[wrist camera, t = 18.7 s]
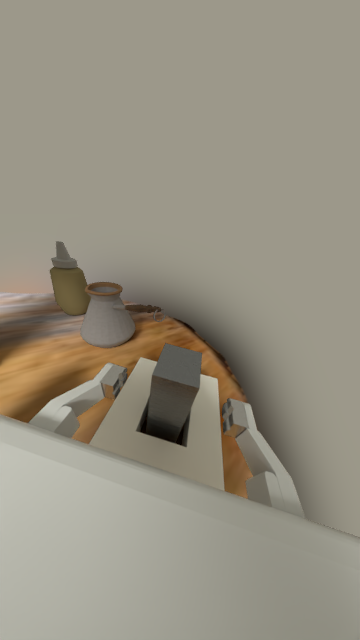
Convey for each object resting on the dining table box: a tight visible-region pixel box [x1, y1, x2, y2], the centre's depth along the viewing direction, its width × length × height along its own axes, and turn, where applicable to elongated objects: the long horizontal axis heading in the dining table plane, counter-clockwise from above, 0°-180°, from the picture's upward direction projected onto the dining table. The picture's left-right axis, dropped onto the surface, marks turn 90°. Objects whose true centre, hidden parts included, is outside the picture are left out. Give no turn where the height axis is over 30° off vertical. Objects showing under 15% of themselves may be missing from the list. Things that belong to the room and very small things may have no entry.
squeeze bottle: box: [50, 242, 91, 315], centre depth 35 cm, size 8×8×18 cm
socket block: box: [89, 357, 225, 491], centre depth 19 cm, size 14×14×4 cm
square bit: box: [146, 343, 202, 443], centre depth 16 cm, size 4×4×14 cm
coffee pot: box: [80, 282, 166, 348], centre depth 27 cm, size 21×12×15 cm, turn 52°
